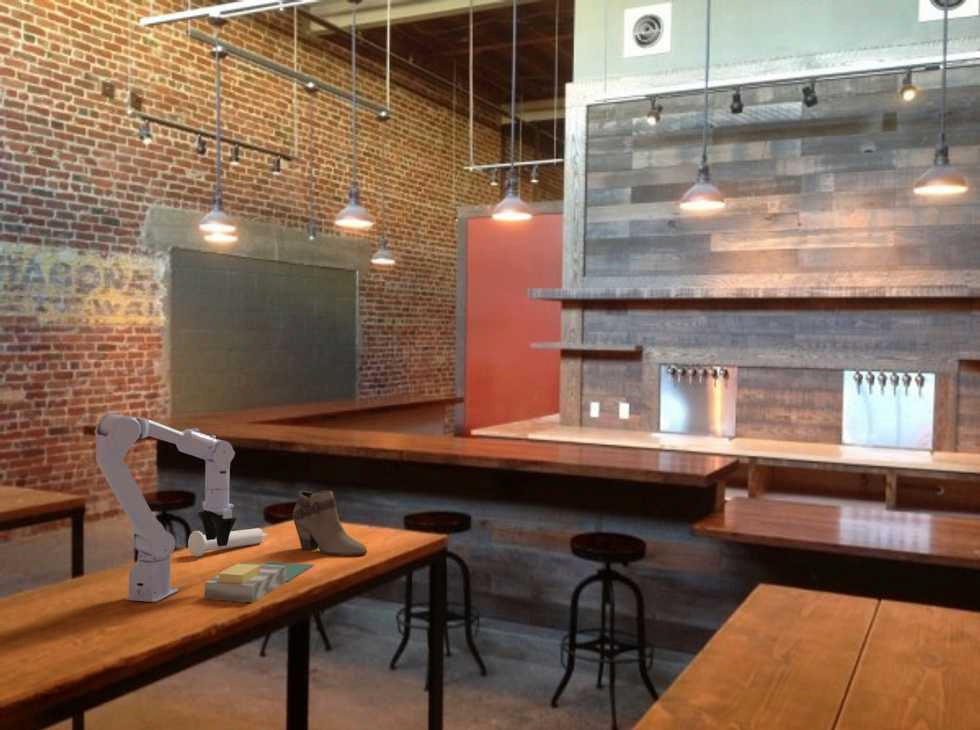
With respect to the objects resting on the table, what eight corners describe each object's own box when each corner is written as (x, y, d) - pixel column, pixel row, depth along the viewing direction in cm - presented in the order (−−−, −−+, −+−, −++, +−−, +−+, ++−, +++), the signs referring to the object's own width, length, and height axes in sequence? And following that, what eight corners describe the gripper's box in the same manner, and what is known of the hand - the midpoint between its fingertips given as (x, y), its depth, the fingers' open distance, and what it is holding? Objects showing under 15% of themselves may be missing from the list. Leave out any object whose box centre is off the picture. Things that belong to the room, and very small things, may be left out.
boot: (359, 558, 241) (360, 496, 240) (284, 550, 248) (285, 491, 247) (372, 551, 249) (373, 491, 248) (299, 544, 255) (299, 486, 255)
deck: (252, 603, 199) (252, 585, 199) (204, 599, 201) (204, 582, 201) (286, 581, 216) (286, 565, 216) (241, 578, 219) (241, 562, 219)
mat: (287, 582, 216) (287, 580, 216) (239, 578, 219) (239, 577, 219) (313, 565, 232) (313, 564, 232) (268, 562, 235) (268, 561, 235)
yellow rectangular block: (242, 583, 200) (242, 575, 200) (218, 581, 201) (218, 573, 201) (260, 573, 209) (260, 565, 209) (237, 571, 210) (237, 563, 210)
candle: (191, 527, 241) (262, 519, 261) (185, 551, 241) (257, 541, 262) (205, 537, 236) (277, 528, 257) (200, 561, 237) (272, 550, 258)
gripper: (244, 490, 211) (243, 546, 211) (222, 482, 222) (221, 535, 223) (216, 493, 207) (215, 550, 207) (194, 484, 218) (194, 538, 218)
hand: (216, 542), depth 215 cm, fingers open, 7 cm apart
